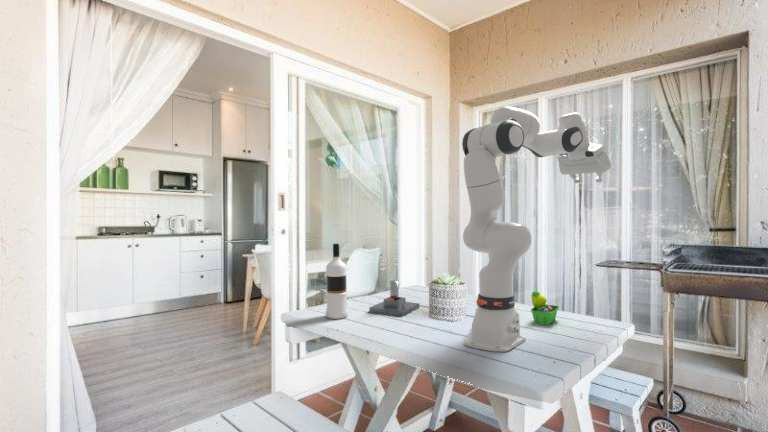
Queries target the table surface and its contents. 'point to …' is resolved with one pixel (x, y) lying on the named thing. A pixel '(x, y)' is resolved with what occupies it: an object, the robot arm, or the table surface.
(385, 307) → the stand base
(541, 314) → the fruit basket
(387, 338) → the table surface
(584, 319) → the table surface
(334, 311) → the vodka
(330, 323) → the table surface
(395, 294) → the column
